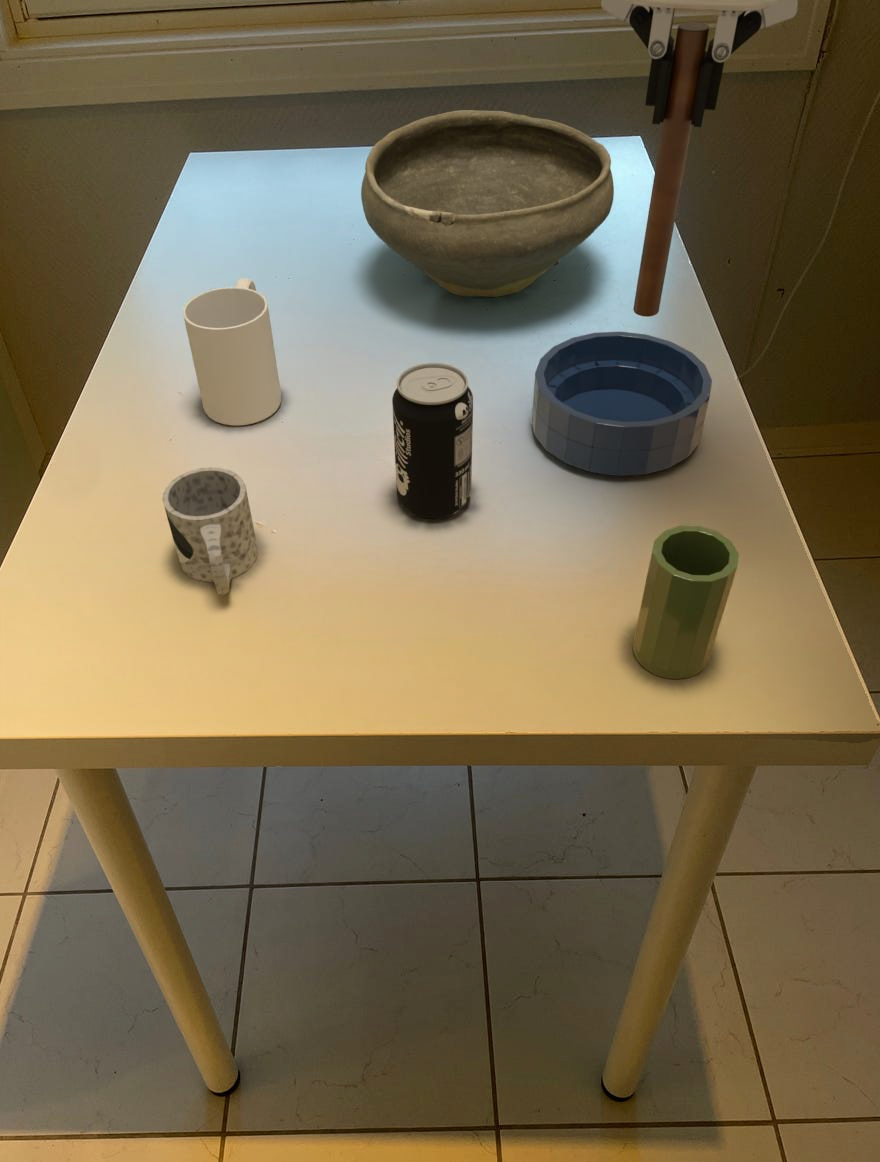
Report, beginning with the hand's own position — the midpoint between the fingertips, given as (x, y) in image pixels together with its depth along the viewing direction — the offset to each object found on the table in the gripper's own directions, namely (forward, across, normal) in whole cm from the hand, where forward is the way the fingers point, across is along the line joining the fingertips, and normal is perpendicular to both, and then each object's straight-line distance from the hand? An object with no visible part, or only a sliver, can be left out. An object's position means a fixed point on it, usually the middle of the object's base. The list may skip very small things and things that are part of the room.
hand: (678, 116), depth 67 cm
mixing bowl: (+30, -1, +4) cm, 30 cm away
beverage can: (+30, -15, -9) cm, 35 cm away
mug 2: (+30, -30, -22) cm, 48 cm away
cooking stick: (+15, 0, 0) cm, 15 cm away
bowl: (+30, -20, +32) cm, 48 cm away
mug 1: (+30, -38, +3) cm, 49 cm away
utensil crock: (+29, +7, -23) cm, 38 cm away
